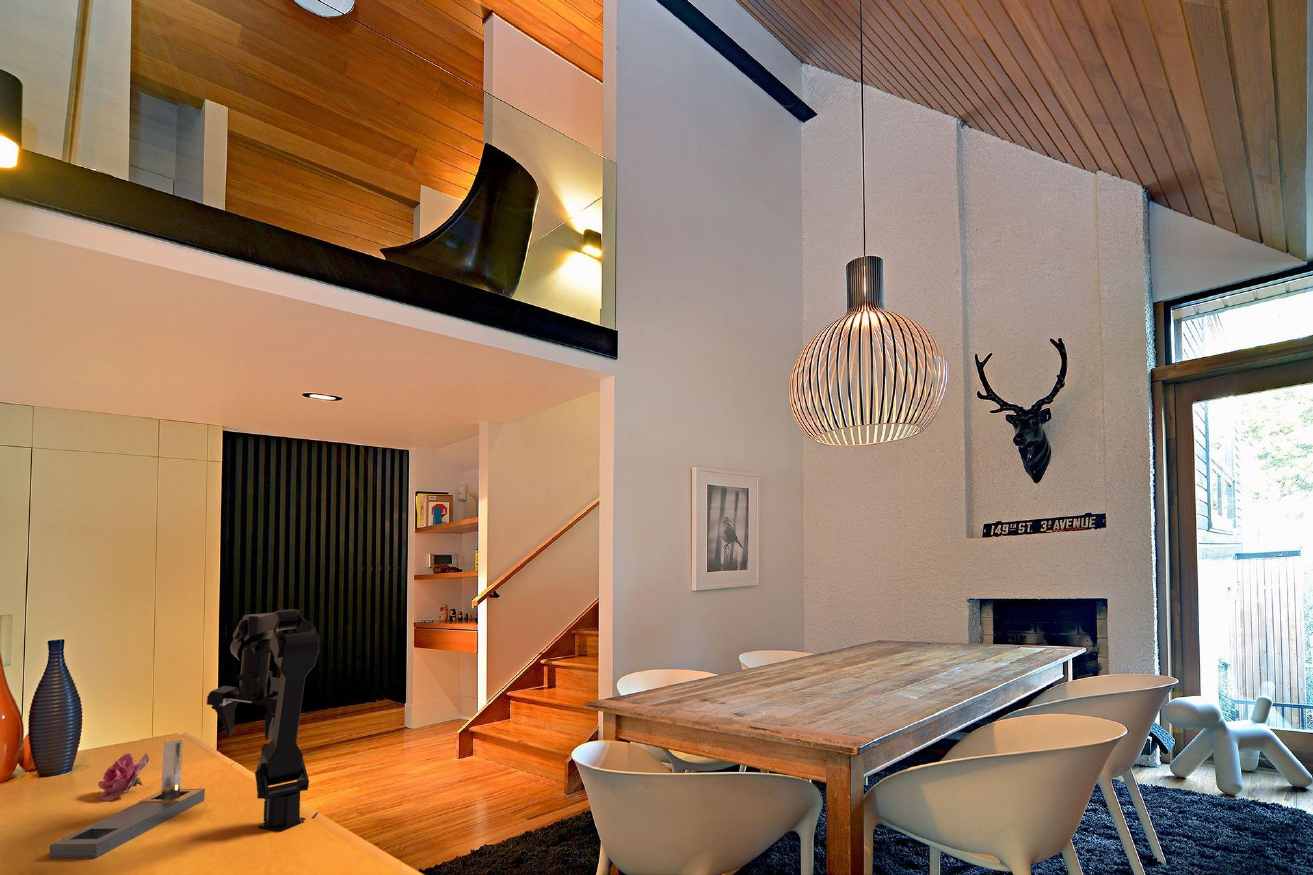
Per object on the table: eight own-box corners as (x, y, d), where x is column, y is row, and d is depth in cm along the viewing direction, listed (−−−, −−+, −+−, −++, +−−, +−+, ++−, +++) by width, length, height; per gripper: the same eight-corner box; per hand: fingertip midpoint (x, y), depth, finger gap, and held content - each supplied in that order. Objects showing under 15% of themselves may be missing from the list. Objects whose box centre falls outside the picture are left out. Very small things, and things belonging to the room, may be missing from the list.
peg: (178, 809, 174) (182, 742, 176) (159, 811, 172) (163, 744, 174) (179, 804, 177) (183, 739, 179) (160, 807, 176) (164, 741, 177)
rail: (96, 857, 147) (97, 842, 148) (49, 858, 148) (50, 842, 148) (204, 800, 180) (204, 787, 180) (165, 800, 180) (166, 788, 181)
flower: (104, 818, 180) (78, 781, 180) (122, 807, 189) (98, 773, 190) (152, 782, 183) (127, 747, 184) (168, 774, 193) (144, 741, 193)
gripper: (312, 664, 188) (306, 730, 188) (239, 655, 191) (233, 720, 191) (285, 677, 177) (279, 747, 177) (208, 667, 180) (201, 736, 179)
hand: (248, 737), depth 181 cm, fingers open, 9 cm apart
